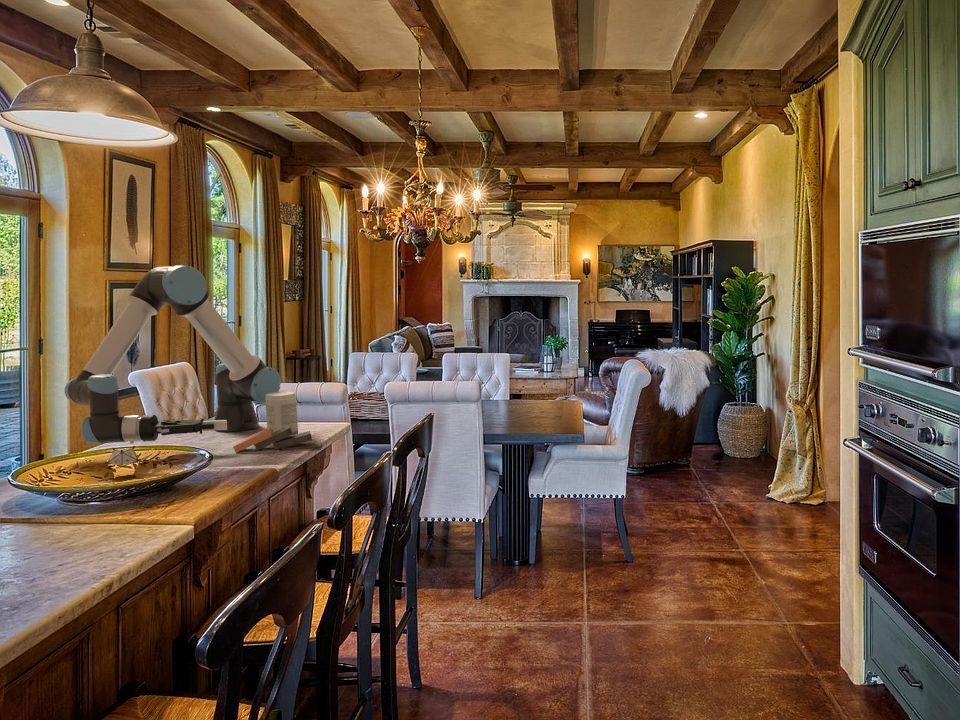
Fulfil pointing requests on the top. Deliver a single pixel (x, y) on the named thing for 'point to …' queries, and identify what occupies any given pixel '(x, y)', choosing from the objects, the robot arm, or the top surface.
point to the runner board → (250, 450)
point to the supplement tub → (281, 411)
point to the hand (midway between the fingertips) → (226, 425)
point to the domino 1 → (252, 439)
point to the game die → (123, 456)
